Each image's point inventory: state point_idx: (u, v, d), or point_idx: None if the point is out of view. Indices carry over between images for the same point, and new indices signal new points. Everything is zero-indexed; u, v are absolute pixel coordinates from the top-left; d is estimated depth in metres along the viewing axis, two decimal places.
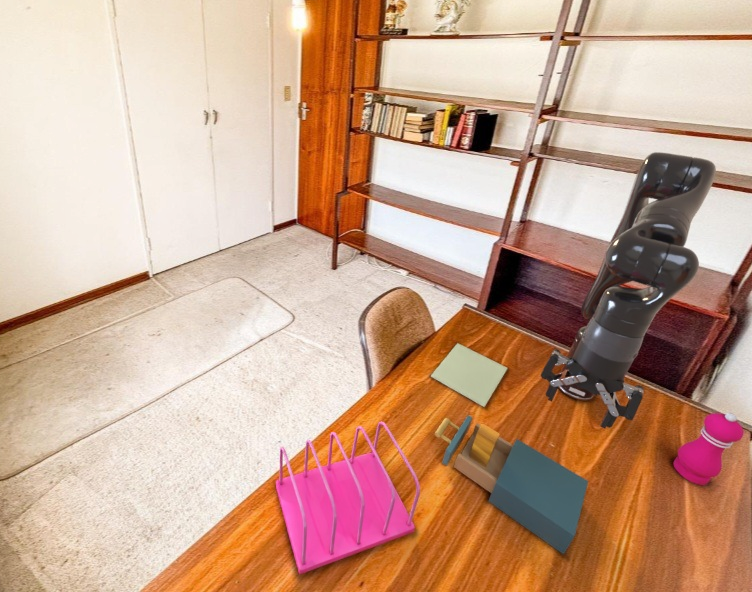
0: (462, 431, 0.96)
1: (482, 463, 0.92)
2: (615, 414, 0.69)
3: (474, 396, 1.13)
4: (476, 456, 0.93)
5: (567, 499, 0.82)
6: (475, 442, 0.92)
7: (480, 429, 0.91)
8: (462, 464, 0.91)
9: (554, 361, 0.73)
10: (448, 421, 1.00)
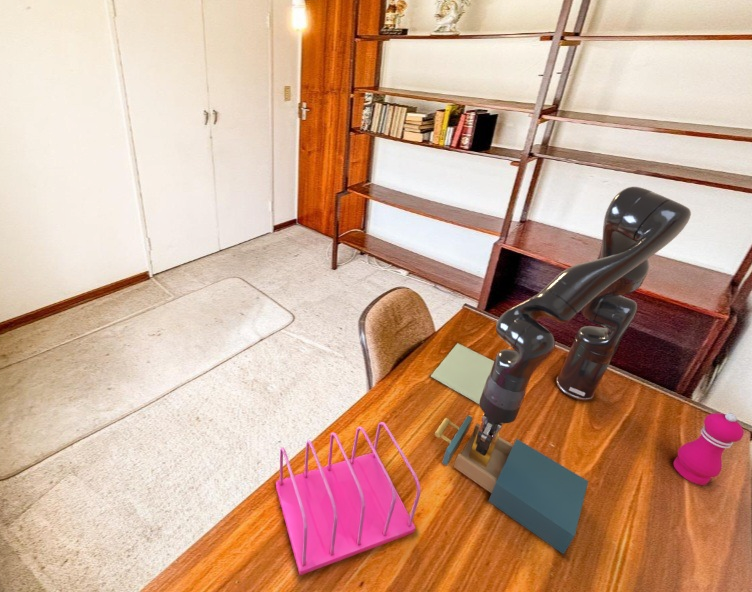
0: (462, 431, 0.96)
1: (482, 463, 0.92)
2: None
3: (474, 396, 1.13)
4: (476, 456, 0.93)
5: (567, 499, 0.82)
6: (475, 442, 0.92)
7: None
8: (462, 464, 0.91)
9: None
10: (448, 421, 1.00)
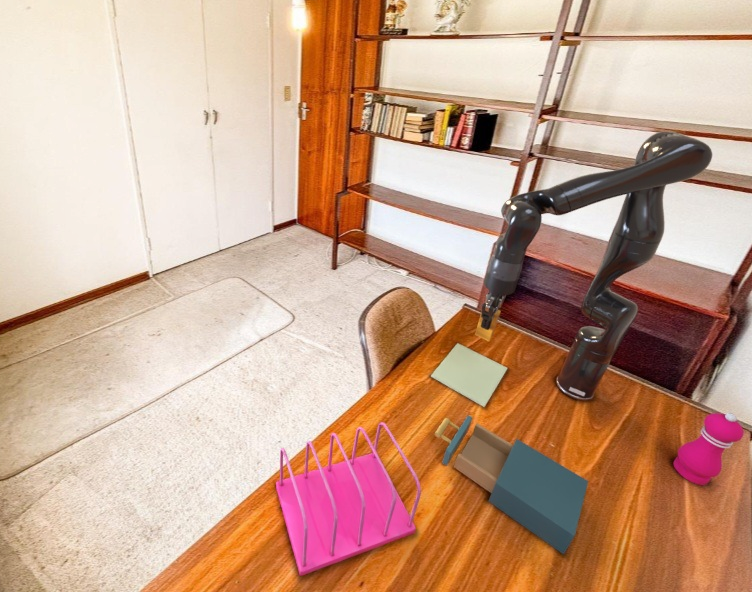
0: (462, 431, 0.96)
1: (485, 338, 1.10)
2: None
3: (474, 396, 1.13)
4: (481, 333, 1.10)
5: (567, 499, 0.82)
6: (480, 320, 1.09)
7: None
8: (462, 464, 0.91)
9: None
10: (448, 421, 1.00)
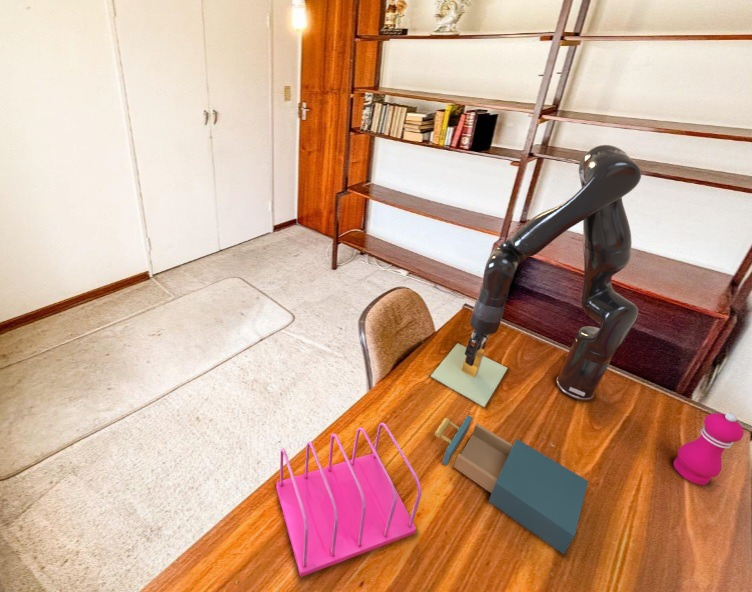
0: (462, 431, 0.96)
1: (471, 375, 1.19)
2: None
3: (474, 396, 1.13)
4: (467, 369, 1.20)
5: (567, 499, 0.82)
6: None
7: None
8: (462, 464, 0.91)
9: None
10: (448, 421, 1.00)
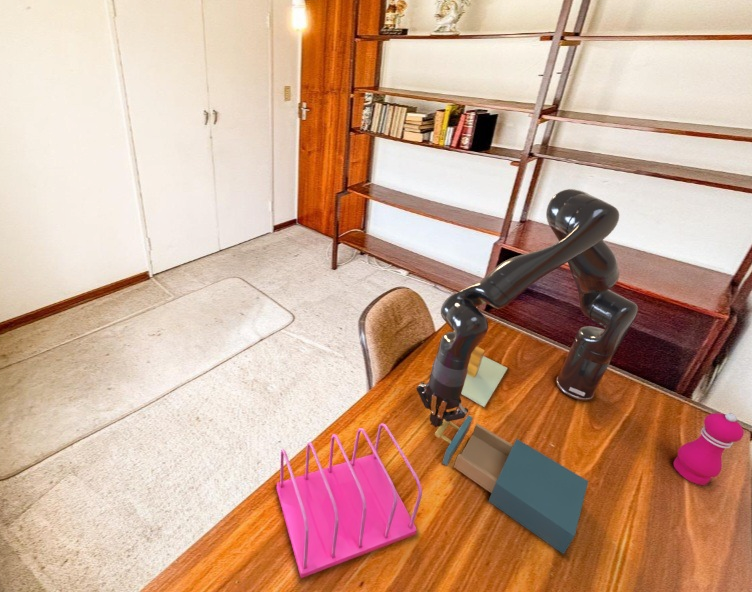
0: (462, 431, 0.96)
1: (471, 375, 1.19)
2: (439, 417, 0.97)
3: (474, 396, 1.13)
4: None
5: (567, 499, 0.82)
6: None
7: None
8: (462, 464, 0.91)
9: (420, 391, 0.99)
10: None
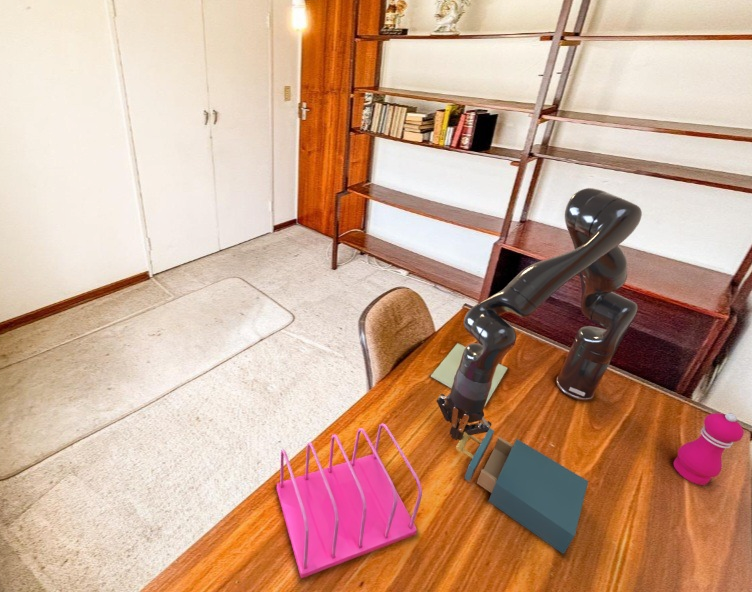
0: (484, 445, 0.93)
1: None
2: (461, 430, 0.94)
3: None
4: None
5: (567, 499, 0.82)
6: None
7: None
8: (486, 480, 0.87)
9: (440, 403, 0.96)
10: None
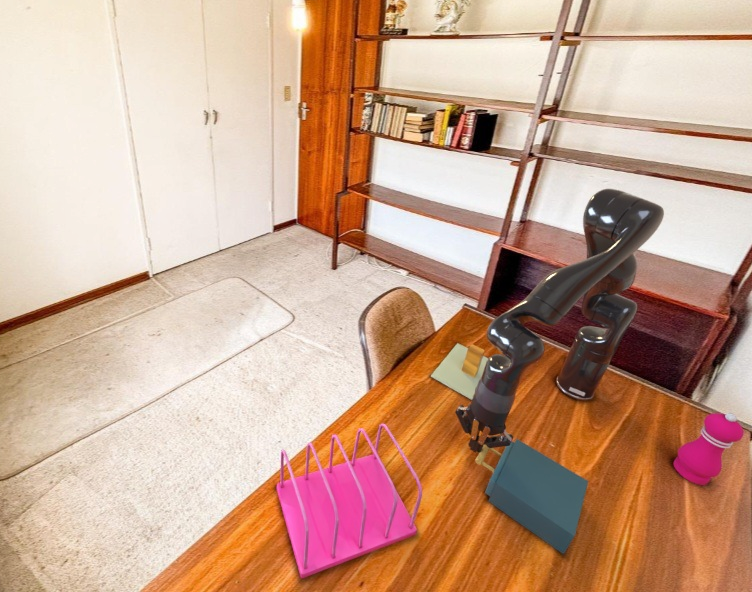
0: (505, 458, 0.90)
1: (471, 375, 1.19)
2: (480, 443, 0.91)
3: None
4: (467, 369, 1.20)
5: (567, 499, 0.82)
6: (466, 358, 1.19)
7: (470, 347, 1.18)
8: None
9: (460, 415, 0.93)
10: None
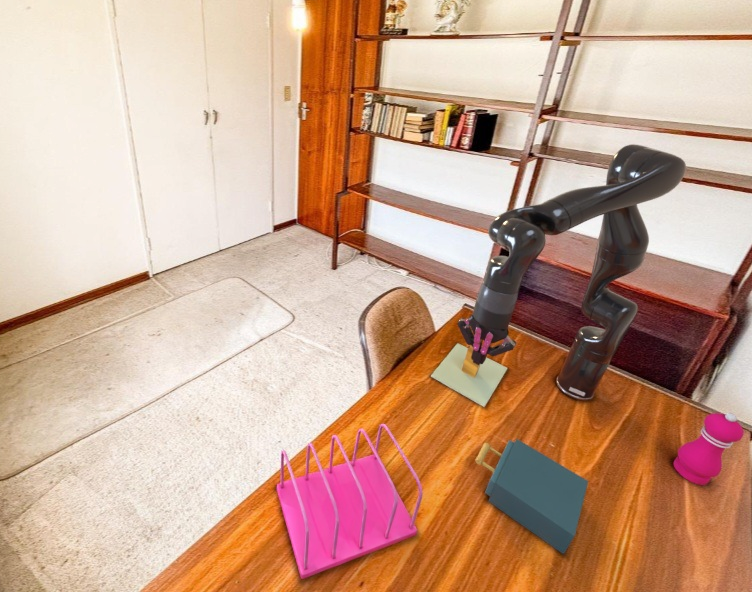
0: (505, 458, 0.90)
1: (471, 375, 1.19)
2: (483, 353, 0.90)
3: (474, 396, 1.13)
4: (467, 369, 1.20)
5: (567, 499, 0.82)
6: (466, 358, 1.19)
7: (470, 347, 1.18)
8: None
9: (462, 326, 0.92)
10: (488, 446, 0.94)
